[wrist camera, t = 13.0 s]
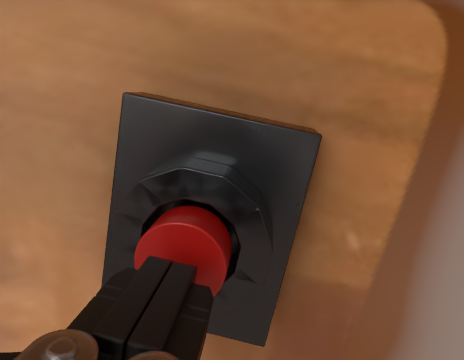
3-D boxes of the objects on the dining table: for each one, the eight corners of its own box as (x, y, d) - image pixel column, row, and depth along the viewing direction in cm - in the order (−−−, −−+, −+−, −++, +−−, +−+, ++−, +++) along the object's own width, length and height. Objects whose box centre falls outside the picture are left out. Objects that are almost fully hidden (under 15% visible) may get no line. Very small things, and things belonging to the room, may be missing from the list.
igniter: (142, 92, 15) (100, 91, 12) (315, 129, 15) (330, 141, 11) (118, 281, 18) (77, 332, 14) (265, 317, 18) (263, 380, 14)
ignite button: (156, 196, 13) (139, 211, 11) (240, 215, 12) (235, 234, 11) (146, 270, 14) (128, 295, 12) (223, 289, 13) (216, 317, 12)
